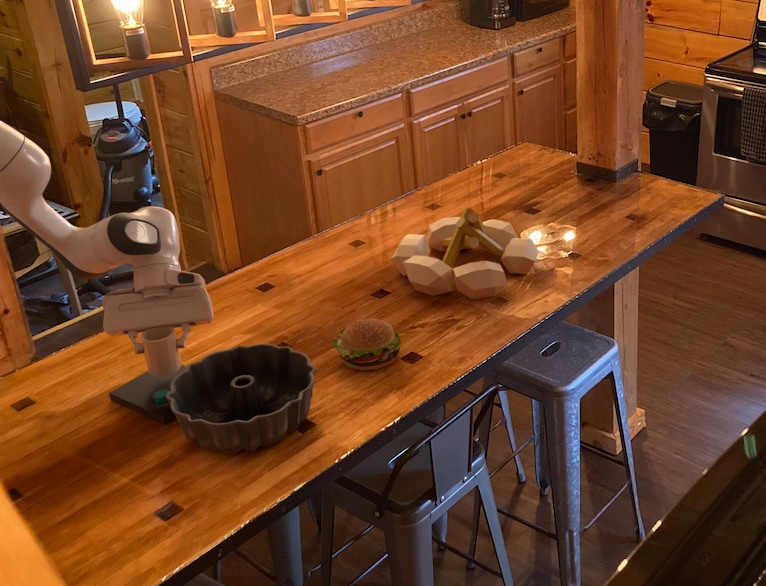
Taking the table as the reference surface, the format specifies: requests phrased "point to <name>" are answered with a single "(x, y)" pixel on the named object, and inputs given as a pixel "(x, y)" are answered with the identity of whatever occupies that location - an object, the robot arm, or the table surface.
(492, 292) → the campfire
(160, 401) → the button
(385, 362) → the food
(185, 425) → the bundt pan
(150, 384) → the scale
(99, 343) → the table surface
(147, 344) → the white cup
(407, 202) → the table surface
